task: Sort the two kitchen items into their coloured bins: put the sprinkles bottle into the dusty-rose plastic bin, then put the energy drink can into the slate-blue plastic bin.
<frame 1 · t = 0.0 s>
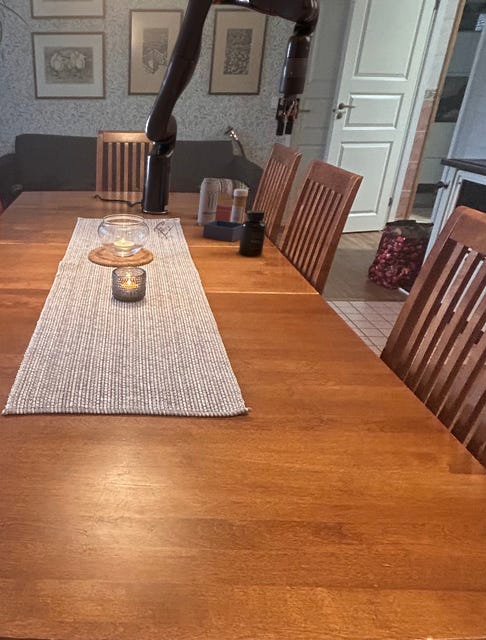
hand: (283, 135, 192), 29 cm above the table, tool pointing down, fingers open, 8 cm apart
energy drink can: (205, 225, 211), on the table
sprinkles bottle: (235, 232, 202), on the table
slate bin: (223, 236, 195), on the table
rose bin: (221, 219, 221), on the table
supplement bottle: (249, 255, 175), on the table
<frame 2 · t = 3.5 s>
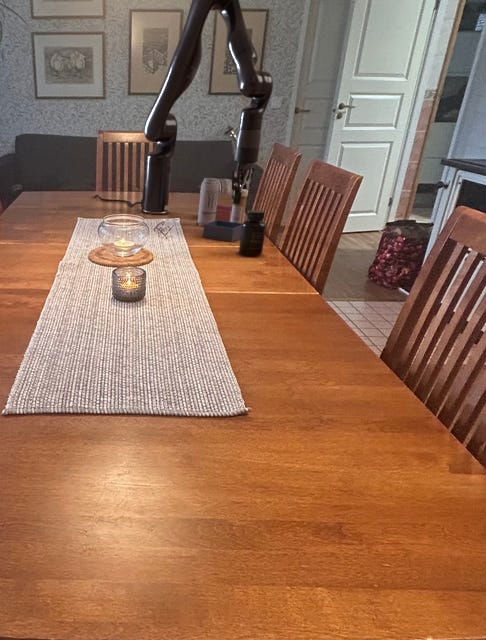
hand: (239, 202, 197), 9 cm above the table, tool pointing down, fingers closed on sprinkles bottle, 4 cm apart
sprinkles bottle: (235, 232, 202), on the table, touching gripper
everything else where it was.
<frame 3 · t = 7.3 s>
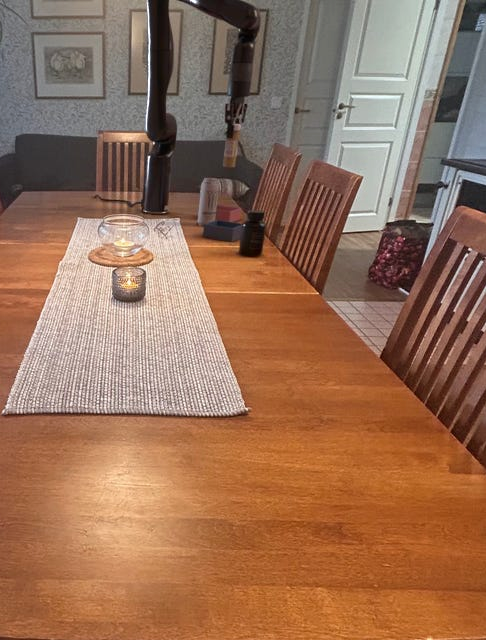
hand: (232, 137, 206), 27 cm above the table, tool pointing down, fingers closed on sprinkles bottle, 4 cm apart
sprinkles bottle: (228, 167, 211), point 18 cm above the table, touching gripper
everything else where it was.
when the fingers open (10 cm above the table, at t = 11.4 s): sprinkles bottle stays where it is, resting on rose bin.
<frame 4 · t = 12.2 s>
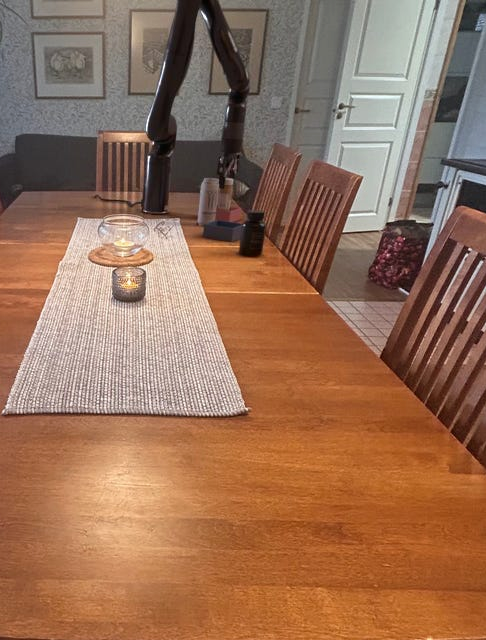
hand: (225, 187, 215), 11 cm above the table, tool pointing down, fingers open, 8 cm apart
sprinkles bottle: (222, 218, 220), resting on rose bin
everything else where it was.
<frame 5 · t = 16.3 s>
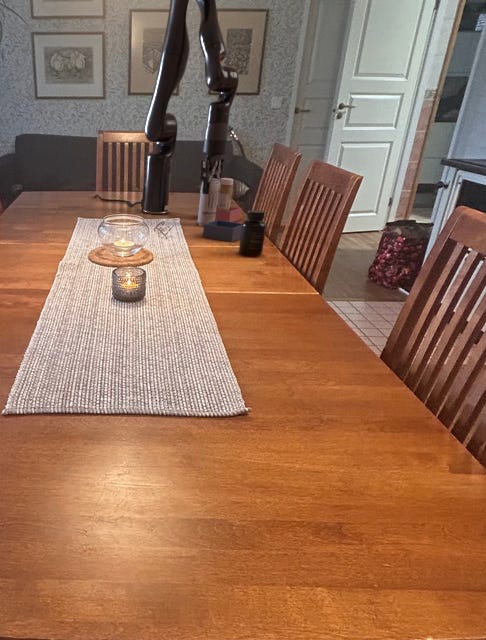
hand: (209, 192, 205), 11 cm above the table, tool pointing down, fingers closed on energy drink can, 6 cm apart
energy drink can: (205, 225, 211), on the table, touching gripper
everything else where it was.
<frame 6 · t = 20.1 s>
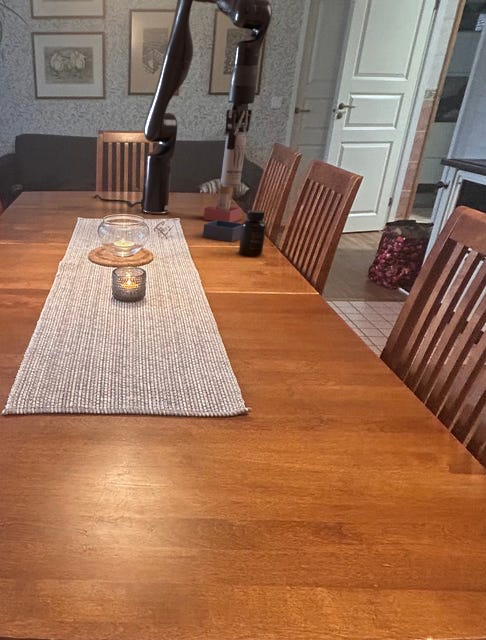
hand: (234, 148, 181), 26 cm above the table, tool pointing down, fingers closed on energy drink can, 6 cm apart
energy drink can: (229, 186, 187), point 15 cm above the table, touching gripper
everything else where it was.
when the fingers open (11 cm above the table, at t = 23.8 s): energy drink can stays where it is, resting on slate bin.
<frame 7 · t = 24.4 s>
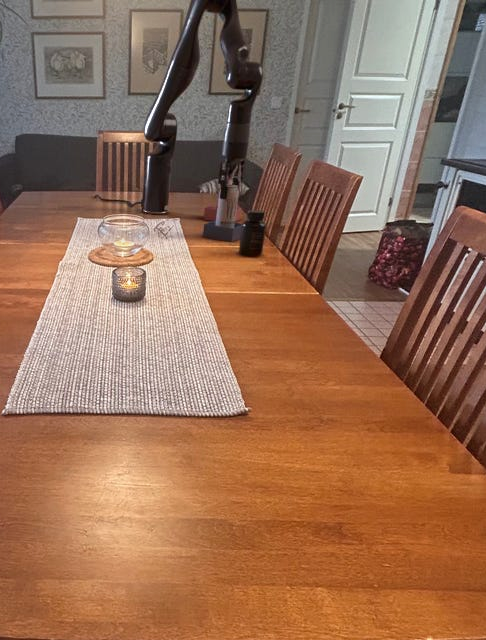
hand: (228, 197, 188), 12 cm above the table, tool pointing down, fingers open, 8 cm apart
energy drink can: (223, 235, 194), resting on slate bin
everything else where it was.
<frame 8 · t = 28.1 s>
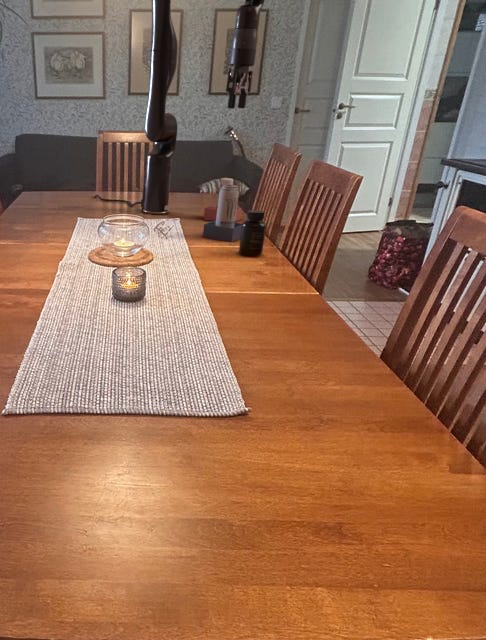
hand: (236, 108, 191), 36 cm above the table, tool pointing down, fingers open, 8 cm apart
nothing on the table moved.
at the end: sprinkles bottle inside the target area in the rose bin (0.1 cm from its centre), point 0.3 cm above the rose bin's base; energy drink can inside the target area in the slate bin (0.1 cm from its centre), point 0.3 cm above the slate bin's base; sprinkles bottle tilted 0° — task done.
